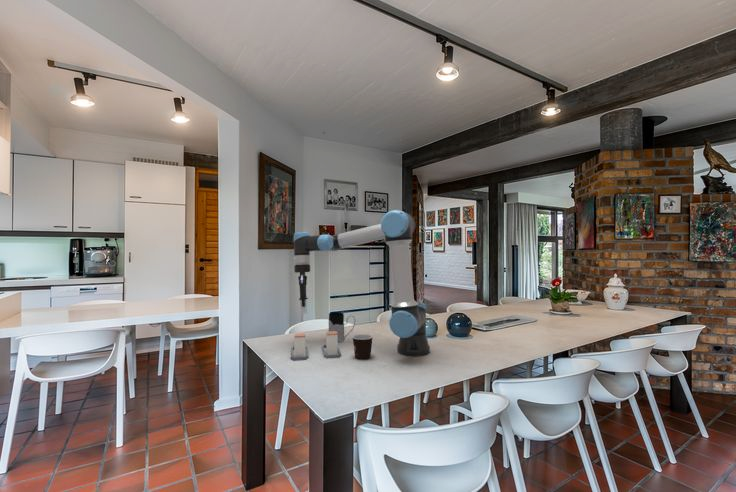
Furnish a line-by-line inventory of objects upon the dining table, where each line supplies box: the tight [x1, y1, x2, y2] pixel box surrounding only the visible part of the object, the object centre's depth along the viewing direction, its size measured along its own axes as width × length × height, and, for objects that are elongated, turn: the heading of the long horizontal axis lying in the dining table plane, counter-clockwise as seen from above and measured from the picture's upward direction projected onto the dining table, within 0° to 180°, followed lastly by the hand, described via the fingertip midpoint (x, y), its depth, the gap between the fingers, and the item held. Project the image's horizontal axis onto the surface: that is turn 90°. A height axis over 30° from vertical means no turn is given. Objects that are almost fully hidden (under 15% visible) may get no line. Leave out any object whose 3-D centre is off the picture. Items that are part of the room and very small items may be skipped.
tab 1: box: [293, 332, 306, 357], centre depth 150 cm, size 4×5×10 cm
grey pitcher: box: [328, 312, 356, 344], centre depth 176 cm, size 9×14×15 cm, turn 104°
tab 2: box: [325, 331, 339, 355], centre depth 154 cm, size 4×5×10 cm
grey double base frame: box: [290, 343, 342, 362], centre depth 156 cm, size 18×22×2 cm
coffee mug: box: [352, 333, 373, 361], centre depth 151 cm, size 12×9×10 cm
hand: (303, 313), depth 167 cm, fingers closed
